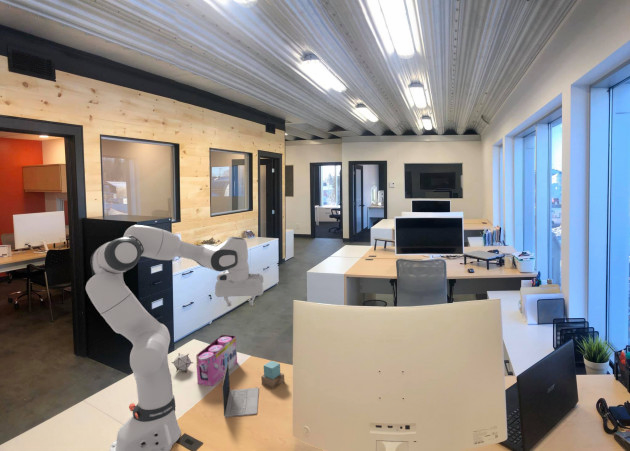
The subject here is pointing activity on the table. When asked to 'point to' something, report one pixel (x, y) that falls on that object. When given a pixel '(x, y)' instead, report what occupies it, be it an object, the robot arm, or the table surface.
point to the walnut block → (273, 381)
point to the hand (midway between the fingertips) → (240, 305)
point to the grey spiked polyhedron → (182, 362)
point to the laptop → (238, 399)
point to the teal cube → (271, 370)
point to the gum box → (216, 360)
